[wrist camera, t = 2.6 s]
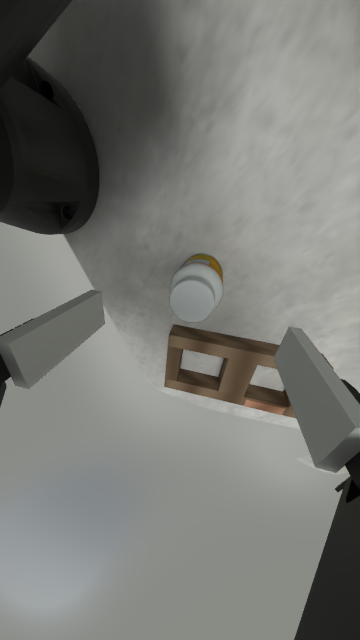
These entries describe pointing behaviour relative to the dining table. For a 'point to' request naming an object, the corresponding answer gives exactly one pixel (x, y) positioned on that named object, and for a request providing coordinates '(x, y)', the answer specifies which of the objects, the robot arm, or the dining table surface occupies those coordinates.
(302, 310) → the dining table surface
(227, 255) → the dining table surface
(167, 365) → the rack
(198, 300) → the supplement bottle
